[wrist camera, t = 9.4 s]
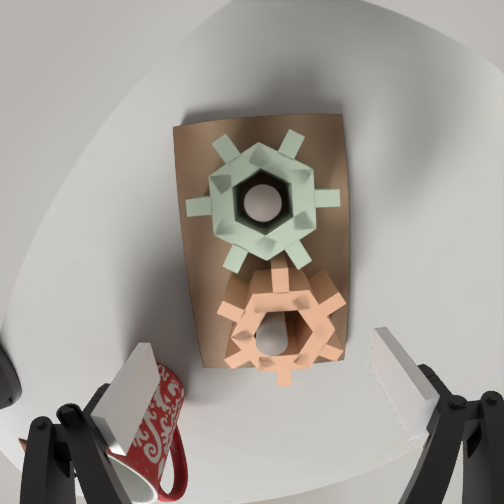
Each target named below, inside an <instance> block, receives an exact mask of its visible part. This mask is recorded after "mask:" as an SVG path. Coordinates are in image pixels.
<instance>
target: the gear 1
mask: <svg viewBox="0 0 504 504" xmlns="http://www.w3.org/2000/svg"><path fill="white" fill-rule="evenodd" d="M304 138H305V137H304V136H303V135H301V134H298V133H296V132H294V131H292V130H290V129H289V131H288V133H287V135H286V136H285V138H284V140H283V142H282V144H281V146H280V148H279V150H278V151H276V150H274V149H272V148H270V147H268V146H266V145H263V144H261V143H259V142H258V143H256V144H255V145H253V146H252V147H250V148H249V149H247V150H246V151H244V152H243V153H240V152H239V150H238V149H237V148H236V146H235V145H234V144H233V142H232V141H231V140H230V139H229V137H228V136H227V135H226V134H225V135H223V136H222V137H220V138H219V139H217V140H216V141H214V142H213V143H212V145H213V147H214V148H215V149H216V151H217V152H218V154H219V155H220V156H221V158H222V159H223V161H224V162H225V163H226V164H225V165H224V166H223V167H221V168H220V169H218V170H217V171H215V172H214V173H213V174H211V175H210V176H209V188H210V196H202V197H197V198H193V199H188V200H186V210H187V217H191V216H202V215H212V221H213V231H214V236H216V237H218V238H220V239H223V240H225V241H227V242H229V243H231V244H233V245H232V247H231V249H230V251H229V254H228V256H227V258H226V260H225V262H224V264H223V267H225V268H227V269H229V270H231V271H233V272H235V273H237V274H238V272H239V270H240V268H241V265H242V263H243V261H244V259H245V257H246V255H247V253H248V252H250V253H252V254H254V255H256V256H258V257H260V258H262V259H264V260H269V259H271V258H272V257H274V256H275V255H277V254H278V253H280V252H281V251H283V250H284V249H285V251H286V252H287V254H288V255H289V257H290V258H291V260H292V261H293V263H294V264H295V266H296V267H297V269H298V270H299V269H300V268H302V267H303V266H305V265H306V264H308V263H309V262H311V261H312V260H311V258H310V256H309V255H308V253H307V251H306V250H305V248H304V246H303V245H302V243H301V242H300V239H301V238H303V237H304V236H306V235H307V234H309V233H311V232H312V231H314V230H315V229H316V208H317V207H340V189H329V188H314V174H313V169H312V168H310V167H308V166H306V165H304V164H302V163H300V162H298V161H296V160H294V158H295V156H296V154H297V152H298V150H299V148H300V146H301V144H302V142H303V140H304ZM260 172H263V173H265V174H267V175H269V176H272V177H274V178H276V179H278V180H280V181H282V182H284V183H285V185H286V200H287V210H286V211H284V212H283V213H281V214H280V215H278V216H277V217H275V218H273V219H272V220H270V221H269V222H267V223H266V224H264V223H262V222H260V221H257V220H254V219H253V218H251V217H250V216H248V215H246V214H244V213H242V211H241V199H240V186H241V185H242V184H244V183H245V182H247V181H248V180H250V179H251V178H253V177H254V176H256V175H257V174H259V173H260Z"/></svg>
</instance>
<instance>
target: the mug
mask: <svg viewBox="0 0 504 504" xmlns="http://www.w3.org/2000/svg"><path fill="white" fill-rule="evenodd" d="M156 365H157V368H158V372H159V375H160V378H161V379H160V381H159V384H158V386H157V388H156V390H155V392H154V394H153V396H152V399H151V401H150V403H149V405H148V407H147V410H146V412H145V414H144V416H143V418H142V421H141V423H140V425H139V427H138V430H137V432H136V434H135V436H134V439H133V441H132V443H131V445H130V448H129V450H128V452H127V455H126V456H125V455H120V454H115V453H112V451H111V450H110V448H109V446H108V447H107V449H106V453H107V454H108V456H109V459H110V461H111V463H112V465H113V467H114V469H115V472H116V474H117V476H118V478H119V480H120V482H121V484H122V486H123V487H124V489H125V491H126V493H127V495H128V497H129V499H130V500H131V502H132V503H138V504H149V503H153V502H155V501H157V500H159V501H163V502H171V501H176V500H179V499H180V498H181V497H182V496H183V495H184V493H185V490H186V487H187V482H188V469H187V462H186V457H185V452H184V448H183V444H182V440H181V436H180V433H179V429H178V426H177V421H178V417H179V414H180V410H181V407H182V404H183V401H184V397H185V392H184V388H183V385H182V383H181V382H180V380H179V379H178V377H177V376H176V375H175V374H174V373H173V372H172V371H170V370H169V369H168V368H166V367H164V366H163V365H161V364H158V363H156ZM169 448H170V452H171V457H172V461H173V467H174V484H173V488H172V490H171V492H170V493H169V494H167V493H165V492H164V491H163V490H162V488H161V486H160V481H161V477H162V474H163V470H164V467H165V463H166V459H167V456H168V452H169ZM74 472H75V473H76V471H75V468H74Z"/></svg>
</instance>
